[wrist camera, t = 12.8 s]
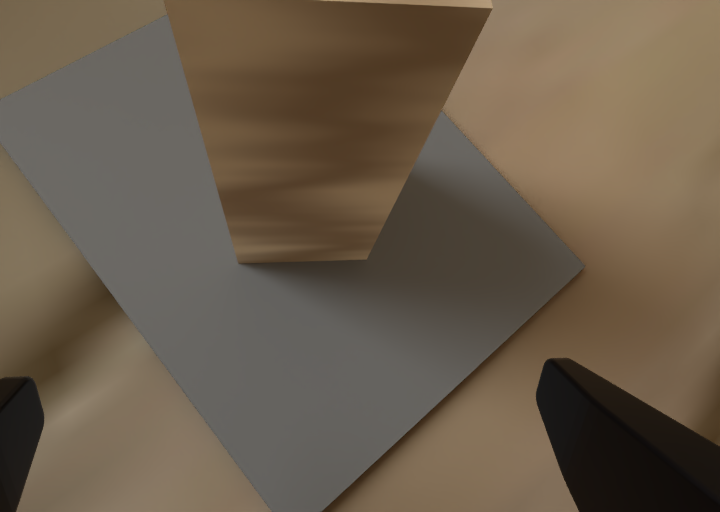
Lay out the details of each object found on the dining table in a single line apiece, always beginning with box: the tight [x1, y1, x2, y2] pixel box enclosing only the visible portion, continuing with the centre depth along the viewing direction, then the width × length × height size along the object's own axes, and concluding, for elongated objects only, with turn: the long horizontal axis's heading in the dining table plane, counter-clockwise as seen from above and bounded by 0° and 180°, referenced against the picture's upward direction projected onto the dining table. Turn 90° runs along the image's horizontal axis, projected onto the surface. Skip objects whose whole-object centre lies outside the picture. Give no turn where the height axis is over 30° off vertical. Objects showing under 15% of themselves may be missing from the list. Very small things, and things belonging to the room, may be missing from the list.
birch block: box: [164, 0, 493, 263], centre depth 13 cm, size 4×4×12 cm
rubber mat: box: [0, 14, 585, 512], centre depth 19 cm, size 14×18×1 cm
